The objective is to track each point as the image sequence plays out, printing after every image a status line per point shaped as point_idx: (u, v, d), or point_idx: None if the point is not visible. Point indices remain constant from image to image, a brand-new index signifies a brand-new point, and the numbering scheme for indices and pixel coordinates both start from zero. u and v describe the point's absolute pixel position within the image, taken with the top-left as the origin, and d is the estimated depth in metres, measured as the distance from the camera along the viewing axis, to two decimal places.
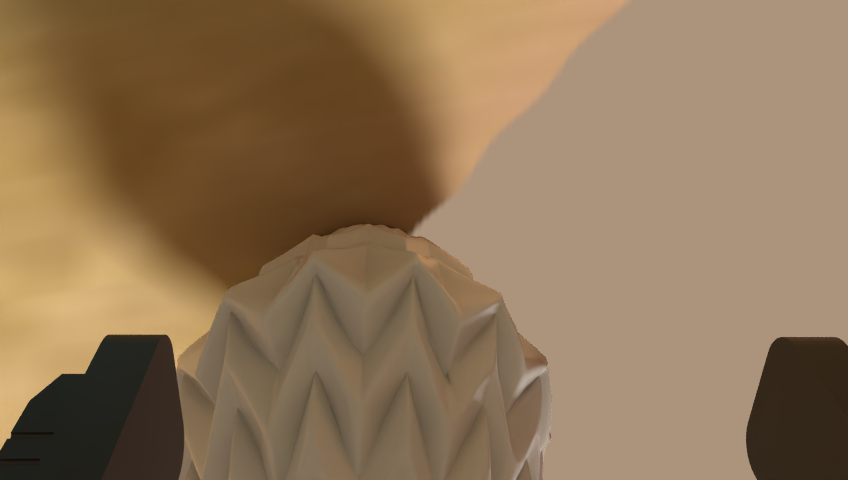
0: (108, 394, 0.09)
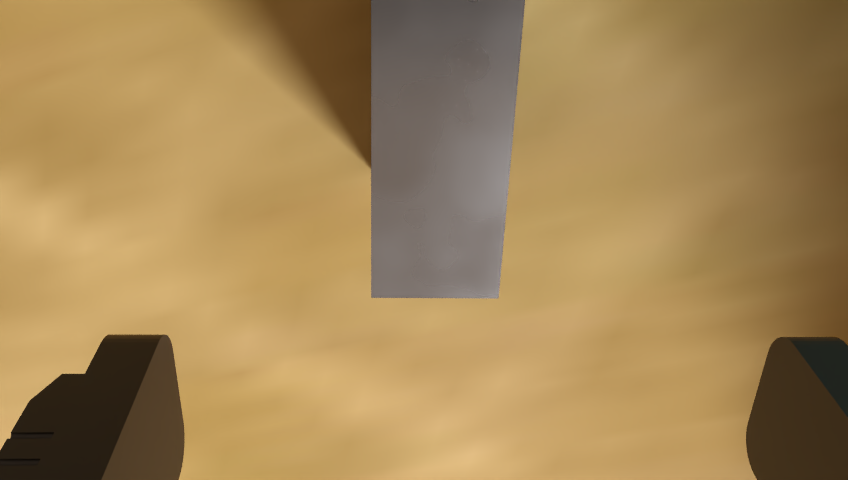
0: (108, 394, 0.09)
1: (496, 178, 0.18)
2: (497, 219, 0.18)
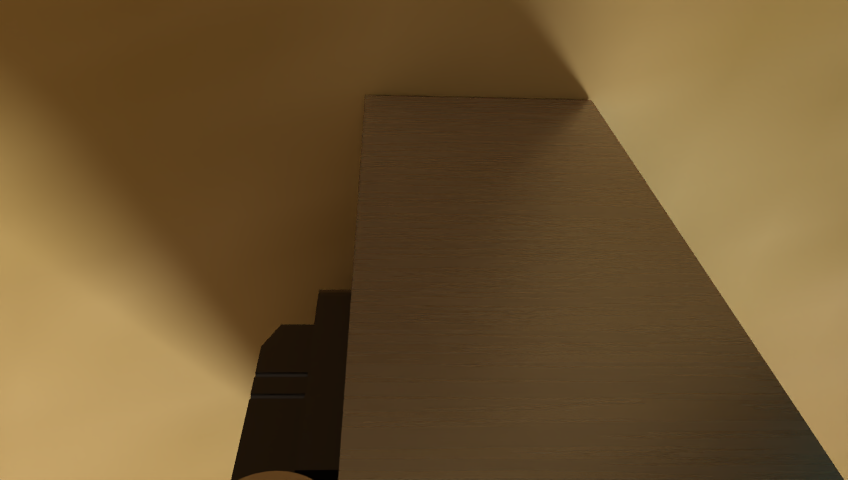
0: (342, 338, 0.10)
1: None
2: None
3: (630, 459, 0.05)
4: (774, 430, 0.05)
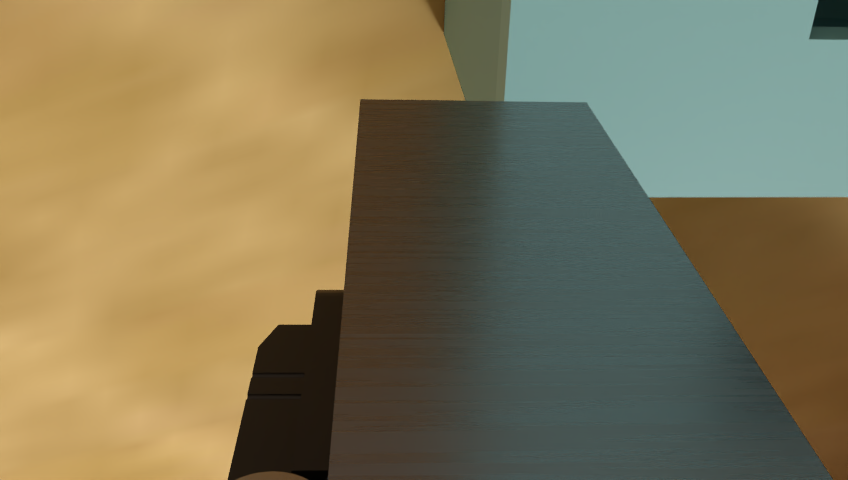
0: (339, 338, 0.10)
1: None
2: None
3: (620, 463, 0.05)
4: (763, 434, 0.05)
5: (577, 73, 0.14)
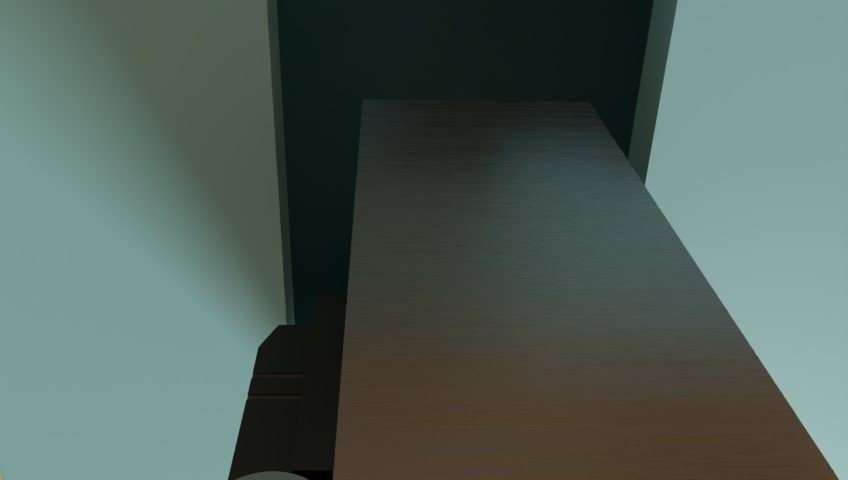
0: (339, 338, 0.10)
1: None
2: None
3: (628, 464, 0.05)
4: (771, 433, 0.05)
5: None
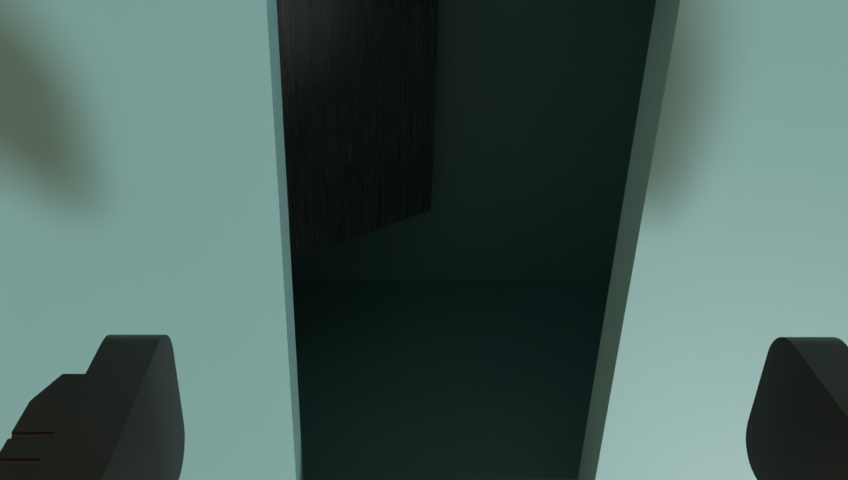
0: (108, 394, 0.09)
1: None
2: None
3: None
4: None
5: None
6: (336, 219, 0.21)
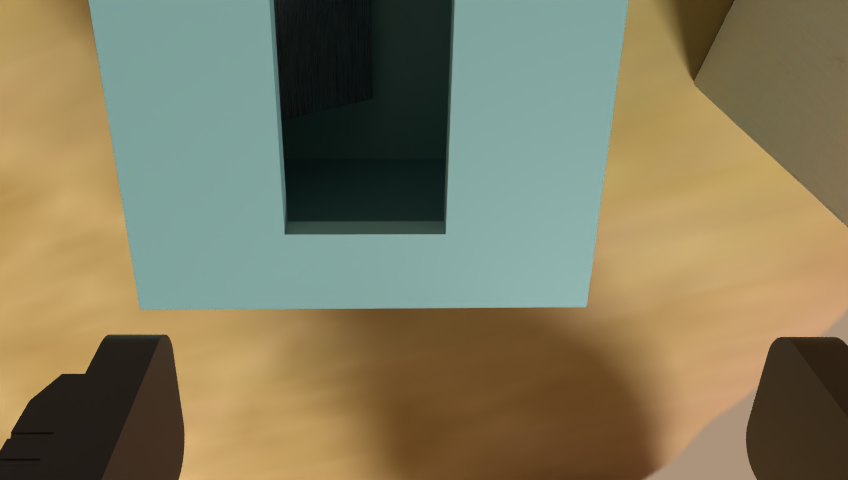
0: (108, 394, 0.09)
1: None
2: None
3: None
4: None
5: (167, 251, 0.28)
6: (309, 97, 0.34)
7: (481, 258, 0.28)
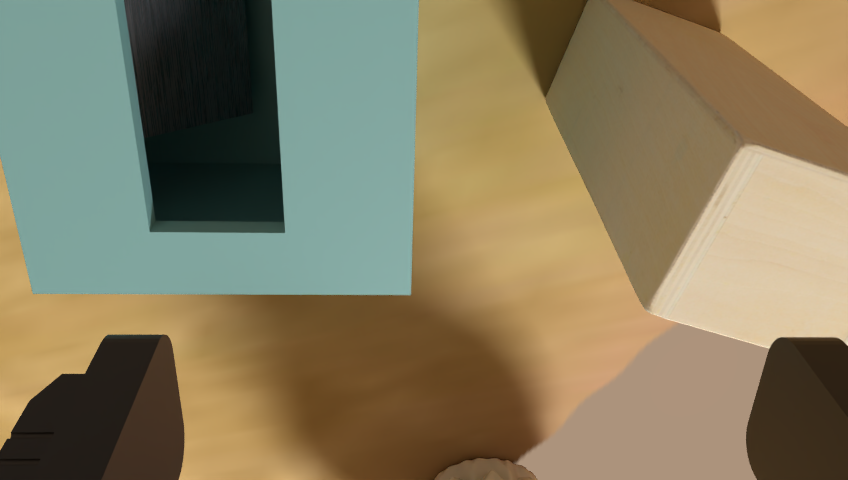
0: (108, 394, 0.09)
1: None
2: None
3: None
4: None
5: (52, 244, 0.33)
6: (192, 112, 0.39)
7: (317, 253, 0.34)
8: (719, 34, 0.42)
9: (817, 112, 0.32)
